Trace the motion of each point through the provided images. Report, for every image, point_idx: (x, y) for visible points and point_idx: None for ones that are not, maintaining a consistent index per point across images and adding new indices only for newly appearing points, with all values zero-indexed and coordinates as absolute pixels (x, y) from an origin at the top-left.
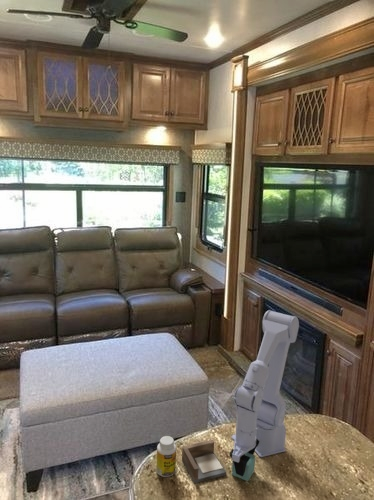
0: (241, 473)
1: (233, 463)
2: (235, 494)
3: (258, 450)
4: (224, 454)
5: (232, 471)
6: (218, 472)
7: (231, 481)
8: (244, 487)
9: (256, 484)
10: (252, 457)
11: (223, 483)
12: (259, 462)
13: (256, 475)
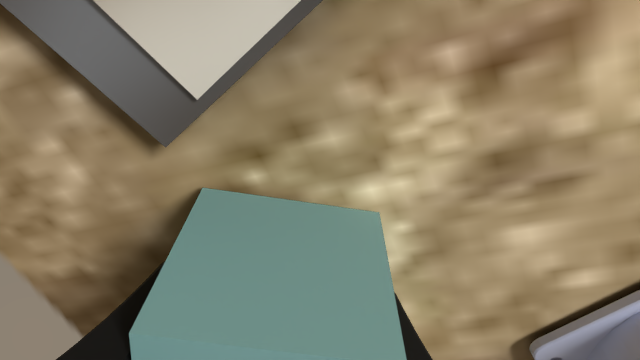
0: None
1: (153, 296)
2: (13, 254)
3: (610, 338)
4: (517, 21)
5: (190, 215)
6: (103, 62)
7: (129, 196)
8: None
9: None
10: None
11: (54, 135)
12: (467, 341)
13: None
